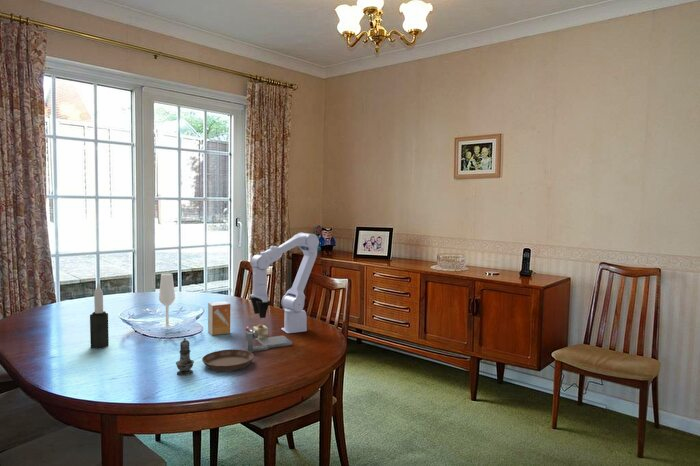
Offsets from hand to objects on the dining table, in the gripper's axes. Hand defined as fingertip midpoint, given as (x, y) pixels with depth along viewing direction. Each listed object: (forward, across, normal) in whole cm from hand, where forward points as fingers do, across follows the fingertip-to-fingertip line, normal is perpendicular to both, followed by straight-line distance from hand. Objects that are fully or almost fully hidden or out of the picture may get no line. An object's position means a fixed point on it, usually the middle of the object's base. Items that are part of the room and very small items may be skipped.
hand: (259, 315), depth 202 cm
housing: (+10, 0, 0) cm, 10 cm away
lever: (+5, +11, -7) cm, 14 cm away
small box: (+10, -14, -14) cm, 22 cm away
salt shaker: (+9, +28, -35) cm, 46 cm away
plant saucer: (+10, +26, -20) cm, 34 cm away
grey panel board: (+9, +11, 0) cm, 14 cm away
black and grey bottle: (+9, -14, -60) cm, 62 cm away
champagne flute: (+9, -31, -33) cm, 46 cm away
